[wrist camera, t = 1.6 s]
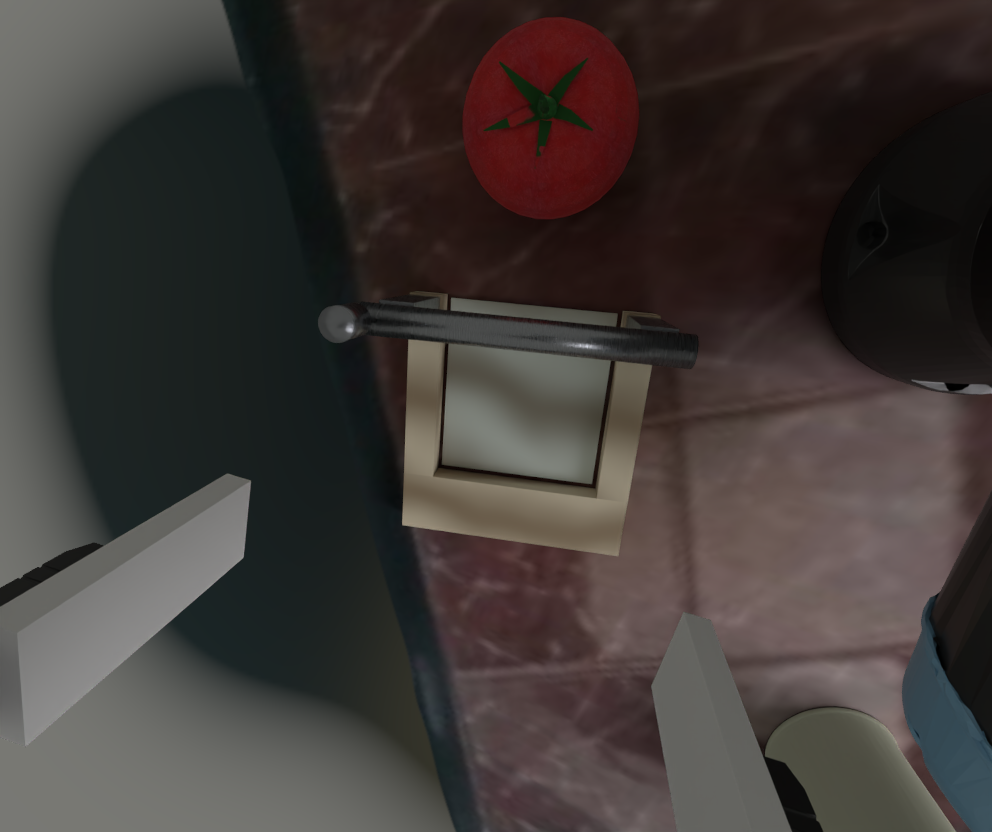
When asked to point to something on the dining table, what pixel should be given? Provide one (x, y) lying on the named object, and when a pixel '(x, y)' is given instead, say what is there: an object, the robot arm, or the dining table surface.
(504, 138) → the tomato
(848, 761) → the can
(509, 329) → the grey curved bar
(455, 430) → the beige flat square frame
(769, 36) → the dining table surface
